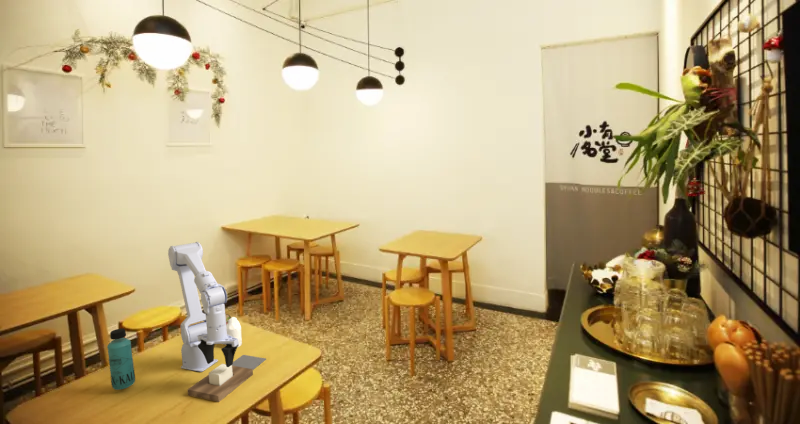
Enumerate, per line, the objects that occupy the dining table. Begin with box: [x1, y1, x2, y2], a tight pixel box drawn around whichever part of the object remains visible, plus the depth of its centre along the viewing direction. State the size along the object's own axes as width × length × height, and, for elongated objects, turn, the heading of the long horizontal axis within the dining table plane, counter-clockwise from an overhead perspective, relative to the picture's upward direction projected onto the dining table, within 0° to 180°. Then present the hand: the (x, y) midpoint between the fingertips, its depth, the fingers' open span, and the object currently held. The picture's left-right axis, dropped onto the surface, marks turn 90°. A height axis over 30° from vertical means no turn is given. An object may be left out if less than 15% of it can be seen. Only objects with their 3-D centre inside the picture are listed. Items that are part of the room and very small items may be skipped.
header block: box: [186, 366, 254, 403], centre depth 134 cm, size 12×16×2 cm
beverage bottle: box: [107, 328, 136, 391], centre depth 132 cm, size 6×7×20 cm
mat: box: [232, 354, 267, 370], centre depth 148 cm, size 10×8×1 cm
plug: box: [208, 363, 233, 386], centre depth 134 cm, size 4×6×6 cm, turn 162°
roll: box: [226, 316, 243, 348], centre depth 161 cm, size 6×12×6 cm
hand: (220, 363), depth 133 cm, fingers open, 7 cm apart
